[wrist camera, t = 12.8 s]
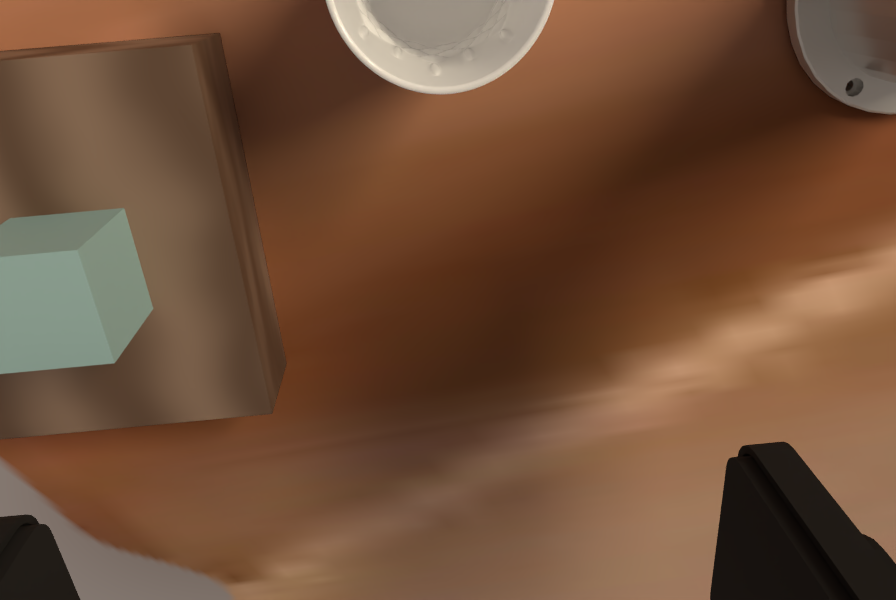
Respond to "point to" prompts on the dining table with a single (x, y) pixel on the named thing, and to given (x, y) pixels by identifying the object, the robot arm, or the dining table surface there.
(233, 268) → the walnut riser
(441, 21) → the white cup
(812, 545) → the robot arm
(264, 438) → the dining table surface
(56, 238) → the teal block
